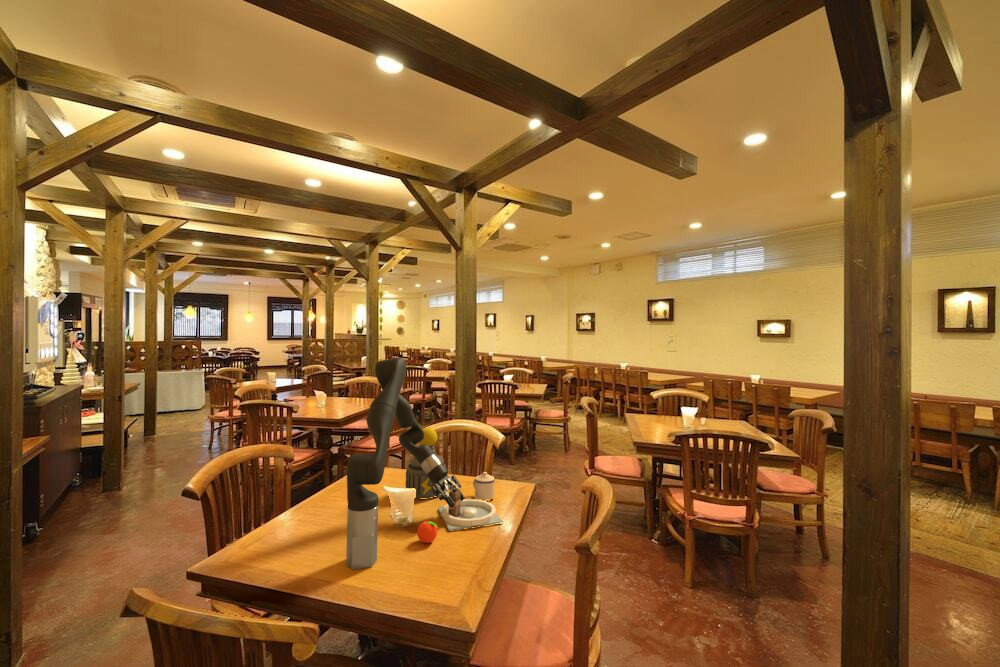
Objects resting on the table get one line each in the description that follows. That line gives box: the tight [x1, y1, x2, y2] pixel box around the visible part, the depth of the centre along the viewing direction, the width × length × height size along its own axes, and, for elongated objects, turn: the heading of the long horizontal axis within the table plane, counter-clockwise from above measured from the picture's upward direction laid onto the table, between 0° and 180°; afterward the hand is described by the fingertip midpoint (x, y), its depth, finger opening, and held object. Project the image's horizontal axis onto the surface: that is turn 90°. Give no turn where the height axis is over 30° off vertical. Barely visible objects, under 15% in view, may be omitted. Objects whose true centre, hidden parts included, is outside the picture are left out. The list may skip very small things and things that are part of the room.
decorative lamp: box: [404, 427, 448, 498], centre depth 187 cm, size 19×19×30 cm
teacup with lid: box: [472, 471, 495, 500], centre depth 182 cm, size 12×9×12 cm
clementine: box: [416, 520, 439, 544], centre depth 139 cm, size 8×7×7 cm
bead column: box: [448, 488, 462, 517], centre depth 159 cm, size 3×3×11 cm
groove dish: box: [437, 498, 504, 532], centre depth 161 cm, size 21×21×3 cm
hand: (458, 502), depth 158 cm, fingers open, 7 cm apart
